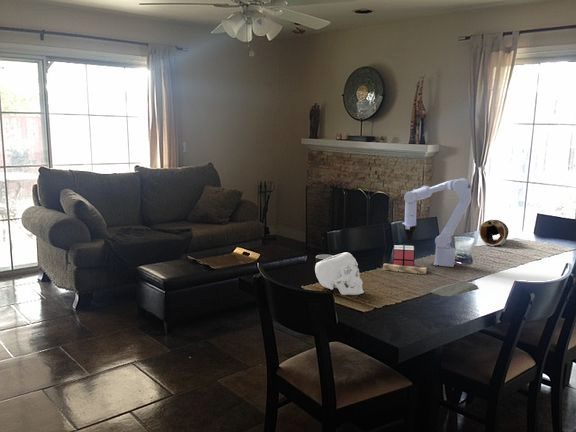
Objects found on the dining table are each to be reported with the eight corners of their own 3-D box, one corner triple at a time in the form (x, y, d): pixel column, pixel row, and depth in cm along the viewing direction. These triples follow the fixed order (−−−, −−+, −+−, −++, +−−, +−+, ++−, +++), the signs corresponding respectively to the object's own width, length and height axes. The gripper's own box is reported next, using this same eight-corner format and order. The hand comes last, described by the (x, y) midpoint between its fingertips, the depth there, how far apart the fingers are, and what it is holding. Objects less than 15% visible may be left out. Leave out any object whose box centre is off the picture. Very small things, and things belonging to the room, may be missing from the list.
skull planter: (358, 295, 204) (340, 250, 207) (321, 308, 217) (304, 266, 220) (375, 287, 215) (358, 245, 217) (339, 300, 227) (323, 260, 230)
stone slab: (479, 291, 221) (459, 283, 228) (480, 285, 220) (460, 277, 228) (446, 302, 208) (427, 293, 215) (447, 296, 207) (428, 287, 214)
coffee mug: (321, 281, 230) (322, 260, 228) (312, 277, 237) (312, 255, 236) (343, 278, 235) (344, 257, 233) (333, 273, 243) (333, 253, 241)
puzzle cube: (413, 270, 248) (414, 250, 246) (392, 269, 250) (393, 249, 249) (413, 265, 258) (414, 245, 256) (393, 264, 260) (393, 244, 258)
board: (426, 272, 244) (426, 267, 244) (425, 274, 241) (425, 269, 241) (384, 268, 252) (384, 263, 251) (382, 269, 249) (383, 264, 249)
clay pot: (513, 220, 315) (505, 218, 295) (514, 245, 314) (506, 245, 293) (488, 221, 323) (478, 219, 303) (489, 246, 322) (479, 245, 302)
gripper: (405, 212, 272) (404, 237, 274) (399, 216, 259) (399, 242, 261) (418, 212, 269) (418, 238, 271) (414, 217, 256) (413, 244, 258)
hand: (409, 240), depth 266 cm, fingers closed
